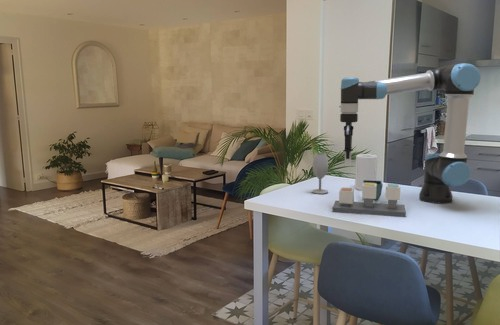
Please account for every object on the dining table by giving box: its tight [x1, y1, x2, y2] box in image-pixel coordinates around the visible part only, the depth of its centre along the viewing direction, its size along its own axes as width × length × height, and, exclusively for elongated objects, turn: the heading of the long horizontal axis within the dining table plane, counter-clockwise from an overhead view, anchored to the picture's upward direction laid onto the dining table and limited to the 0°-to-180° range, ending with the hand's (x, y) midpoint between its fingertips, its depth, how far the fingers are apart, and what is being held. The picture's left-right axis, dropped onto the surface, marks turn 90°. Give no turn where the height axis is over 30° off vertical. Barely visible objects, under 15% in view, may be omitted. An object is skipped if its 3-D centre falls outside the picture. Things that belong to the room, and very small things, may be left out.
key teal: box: [385, 183, 402, 201], centre depth 190 cm, size 6×6×6 cm
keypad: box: [331, 198, 407, 218], centre depth 193 cm, size 31×13×7 cm, turn 73°
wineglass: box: [311, 152, 329, 195], centre depth 227 cm, size 9×9×21 cm
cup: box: [354, 153, 378, 191], centre depth 235 cm, size 11×11×18 cm
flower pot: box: [363, 180, 383, 202], centre depth 212 cm, size 9×9×9 cm
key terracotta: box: [338, 187, 355, 204], centre depth 196 cm, size 6×6×6 cm
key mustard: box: [361, 182, 377, 199], centre depth 192 cm, size 6×6×6 cm
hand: (347, 165), depth 193 cm, fingers closed
